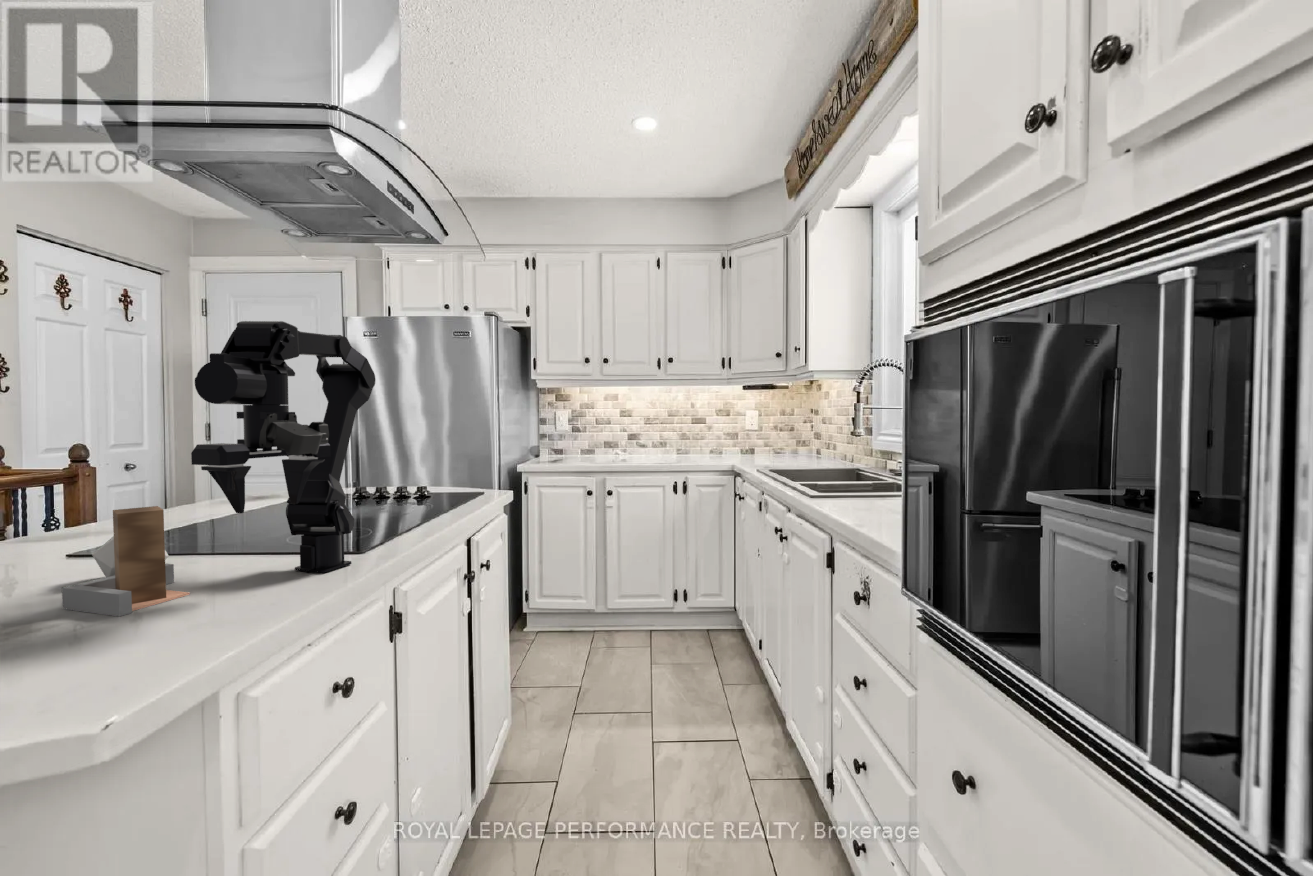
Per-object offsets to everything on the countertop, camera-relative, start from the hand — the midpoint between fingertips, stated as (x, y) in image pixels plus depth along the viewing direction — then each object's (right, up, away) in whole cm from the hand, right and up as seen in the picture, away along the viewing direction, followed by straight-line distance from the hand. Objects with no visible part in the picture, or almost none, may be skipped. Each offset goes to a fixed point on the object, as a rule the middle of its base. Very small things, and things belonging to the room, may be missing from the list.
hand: (268, 508), depth 90 cm
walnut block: (-17, -13, -3) cm, 21 cm away
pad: (-17, -13, -3) cm, 21 cm away
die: (-28, -13, +8) cm, 32 cm away
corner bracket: (-17, -13, -2) cm, 22 cm away
